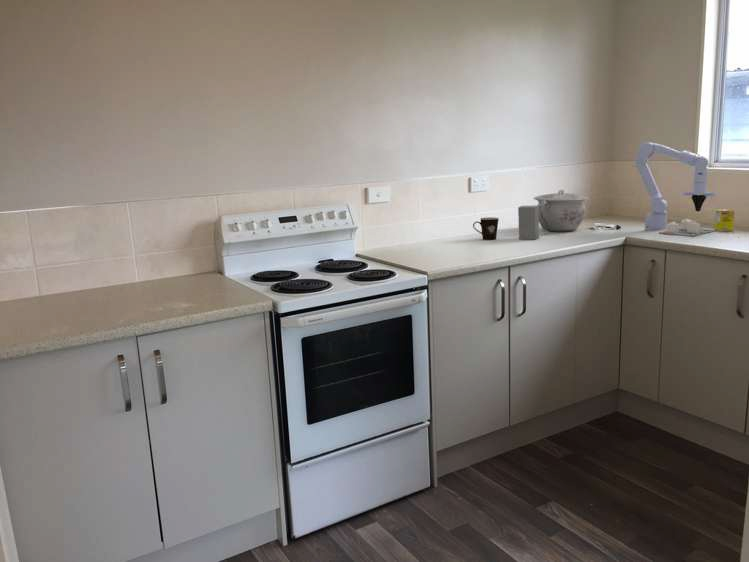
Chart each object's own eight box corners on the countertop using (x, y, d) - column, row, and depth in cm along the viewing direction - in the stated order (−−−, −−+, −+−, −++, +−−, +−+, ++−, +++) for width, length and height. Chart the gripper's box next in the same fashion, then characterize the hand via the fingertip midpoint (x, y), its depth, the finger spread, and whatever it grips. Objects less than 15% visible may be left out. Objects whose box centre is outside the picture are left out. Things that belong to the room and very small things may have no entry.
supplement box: (732, 233, 313) (734, 210, 311) (719, 234, 314) (721, 211, 311) (726, 232, 319) (728, 209, 317) (713, 232, 319) (715, 209, 317)
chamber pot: (577, 225, 357) (578, 186, 352) (595, 232, 330) (597, 190, 325) (525, 227, 356) (526, 188, 352) (539, 234, 329) (540, 192, 325)
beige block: (687, 232, 311) (687, 221, 309) (691, 231, 313) (691, 220, 312) (695, 233, 308) (696, 222, 306) (699, 232, 310) (700, 221, 309)
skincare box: (539, 238, 318) (539, 205, 315) (534, 240, 312) (535, 206, 309) (521, 237, 322) (522, 204, 319) (517, 239, 316) (517, 206, 313)
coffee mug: (499, 238, 322) (499, 217, 320) (496, 240, 314) (497, 219, 312) (475, 237, 326) (475, 217, 324) (472, 240, 318) (472, 219, 316)
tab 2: (680, 229, 320) (681, 219, 319) (684, 229, 322) (684, 218, 321) (688, 230, 317) (689, 219, 316) (692, 229, 319) (693, 219, 318)
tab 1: (666, 233, 311) (666, 222, 310) (670, 232, 314) (670, 221, 313) (674, 234, 308) (675, 222, 307) (678, 233, 311) (679, 222, 310)
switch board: (658, 236, 311) (659, 232, 311) (682, 231, 326) (683, 226, 326) (693, 240, 299) (693, 235, 299) (716, 233, 314) (716, 229, 314)
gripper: (680, 182, 318) (678, 210, 321) (711, 183, 307) (709, 212, 310) (687, 181, 322) (685, 209, 325) (718, 182, 312) (716, 211, 314)
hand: (697, 211), depth 318 cm, fingers closed
